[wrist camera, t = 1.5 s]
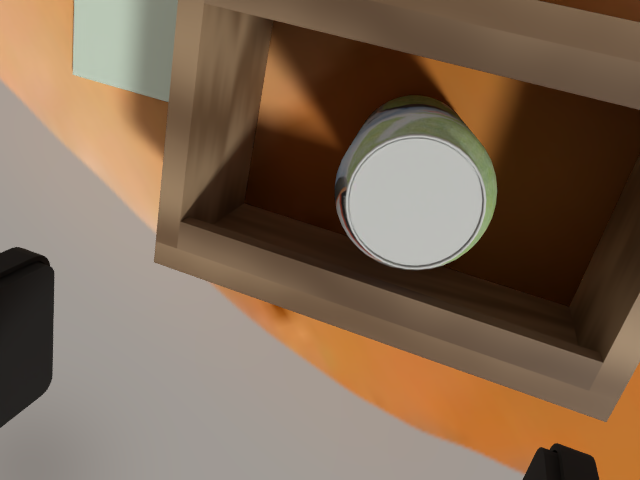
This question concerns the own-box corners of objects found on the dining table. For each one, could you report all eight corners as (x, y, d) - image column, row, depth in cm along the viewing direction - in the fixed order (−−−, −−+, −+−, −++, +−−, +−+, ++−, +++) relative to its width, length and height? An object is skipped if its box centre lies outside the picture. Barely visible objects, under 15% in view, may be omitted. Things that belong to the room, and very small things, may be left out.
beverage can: (345, 119, 31) (262, 168, 20) (472, 62, 28) (454, 83, 17) (388, 220, 32) (332, 315, 22) (515, 175, 29) (522, 260, 19)
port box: (262, -51, 29) (184, -76, 22) (719, 49, 25) (806, 58, 18) (224, 215, 35) (154, 262, 28) (582, 331, 31) (606, 422, 24)
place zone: (80, -87, 31) (76, -88, 31) (223, -55, 30) (219, -56, 29) (77, 74, 35) (72, 74, 35) (203, 110, 33) (200, 111, 33)
